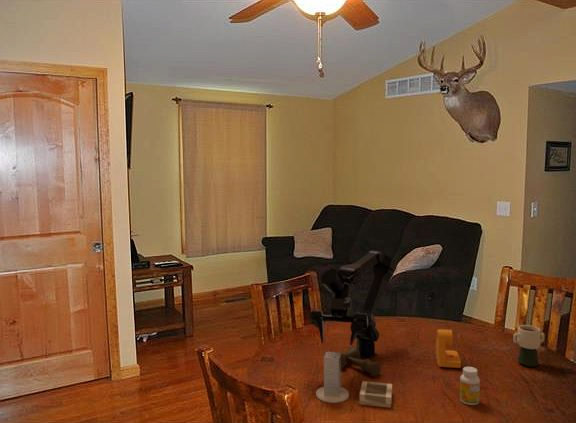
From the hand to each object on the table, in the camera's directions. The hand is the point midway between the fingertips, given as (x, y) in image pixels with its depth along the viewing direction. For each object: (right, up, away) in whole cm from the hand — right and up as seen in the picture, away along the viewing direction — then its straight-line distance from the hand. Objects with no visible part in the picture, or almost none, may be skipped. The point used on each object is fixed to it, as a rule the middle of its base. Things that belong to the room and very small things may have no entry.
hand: (336, 343), depth 151 cm
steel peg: (-2, -13, -6) cm, 15 cm away
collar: (+11, -14, -9) cm, 20 cm away
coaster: (-2, -14, -6) cm, 15 cm away
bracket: (+41, -12, +17) cm, 46 cm away
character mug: (+68, -12, +15) cm, 71 cm away
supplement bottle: (+38, -14, -11) cm, 42 cm away
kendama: (+8, -13, +14) cm, 20 cm away
